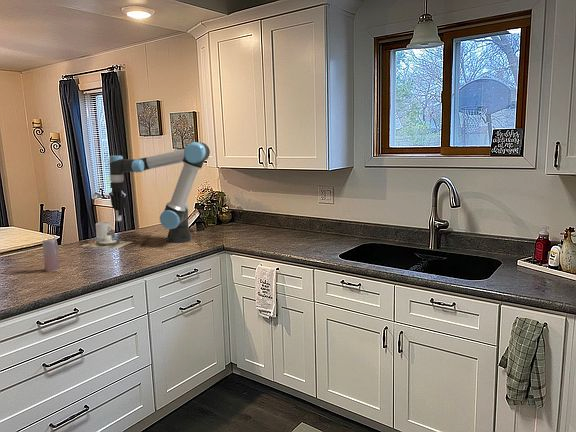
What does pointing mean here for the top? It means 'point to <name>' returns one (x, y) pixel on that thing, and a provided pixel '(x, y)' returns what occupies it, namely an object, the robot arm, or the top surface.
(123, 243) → the board
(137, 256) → the top surface
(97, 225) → the mug
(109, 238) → the dial
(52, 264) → the beverage can
